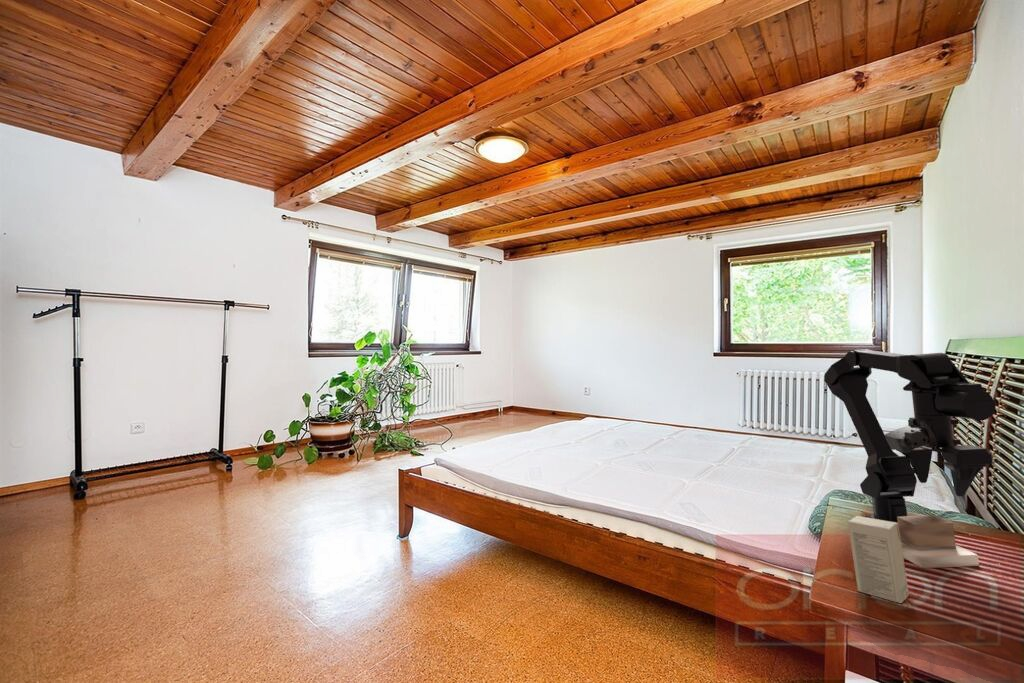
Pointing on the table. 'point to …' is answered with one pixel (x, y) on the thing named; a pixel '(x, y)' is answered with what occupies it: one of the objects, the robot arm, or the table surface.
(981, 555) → the table surface
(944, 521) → the block
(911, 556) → the birch board
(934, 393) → the robot arm
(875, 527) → the skincare box
